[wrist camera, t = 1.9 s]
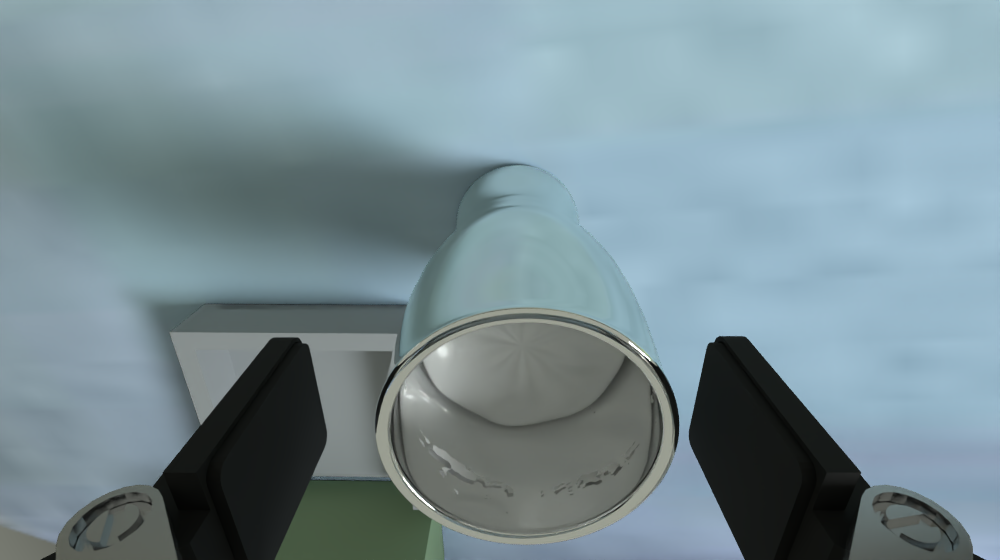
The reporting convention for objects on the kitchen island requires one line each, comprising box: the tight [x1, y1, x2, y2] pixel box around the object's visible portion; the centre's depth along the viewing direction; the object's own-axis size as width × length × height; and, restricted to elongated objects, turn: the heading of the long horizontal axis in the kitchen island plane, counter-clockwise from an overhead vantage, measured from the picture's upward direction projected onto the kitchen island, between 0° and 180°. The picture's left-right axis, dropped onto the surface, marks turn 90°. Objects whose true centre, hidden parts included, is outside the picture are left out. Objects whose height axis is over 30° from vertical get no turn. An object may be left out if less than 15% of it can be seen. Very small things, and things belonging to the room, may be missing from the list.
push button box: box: [169, 304, 444, 560], centre depth 27 cm, size 12×22×8 cm, turn 0°
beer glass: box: [375, 165, 679, 545], centre depth 17 cm, size 7×7×15 cm
